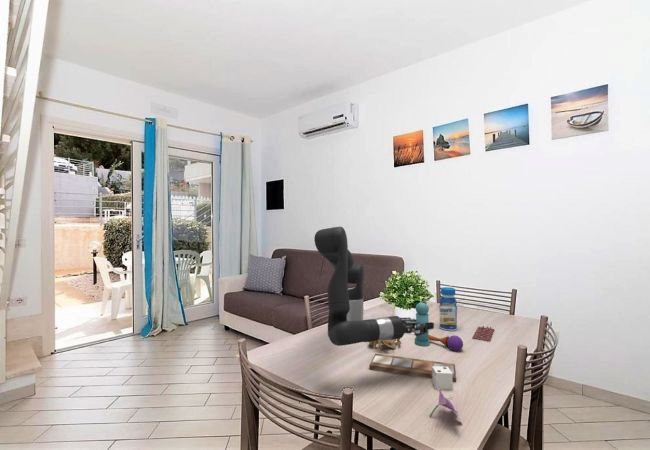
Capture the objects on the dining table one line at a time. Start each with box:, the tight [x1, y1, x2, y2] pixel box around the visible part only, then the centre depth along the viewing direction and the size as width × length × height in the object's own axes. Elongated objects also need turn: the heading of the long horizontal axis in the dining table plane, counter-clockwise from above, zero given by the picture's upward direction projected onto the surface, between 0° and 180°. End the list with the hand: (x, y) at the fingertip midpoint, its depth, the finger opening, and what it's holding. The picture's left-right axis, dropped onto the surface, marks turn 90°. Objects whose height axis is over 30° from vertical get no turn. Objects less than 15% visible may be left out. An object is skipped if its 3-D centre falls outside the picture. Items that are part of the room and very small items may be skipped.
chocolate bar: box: [471, 325, 495, 343], centre depth 151 cm, size 7×19×2 cm, turn 147°
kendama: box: [428, 334, 464, 352], centre depth 137 cm, size 6×6×20 cm
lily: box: [429, 374, 463, 424], centre depth 85 cm, size 12×12×10 cm
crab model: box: [368, 338, 402, 351], centre depth 136 cm, size 16×13×6 cm
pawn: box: [414, 302, 431, 348], centre depth 113 cm, size 5×5×14 cm
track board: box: [368, 353, 457, 383], centre depth 114 cm, size 29×11×2 cm, turn 70°
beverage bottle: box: [438, 286, 458, 332], centre depth 159 cm, size 8×8×20 cm
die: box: [431, 366, 454, 390], centre depth 102 cm, size 5×5×5 cm
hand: (428, 323), depth 114 cm, fingers closed on pawn, 4 cm apart
